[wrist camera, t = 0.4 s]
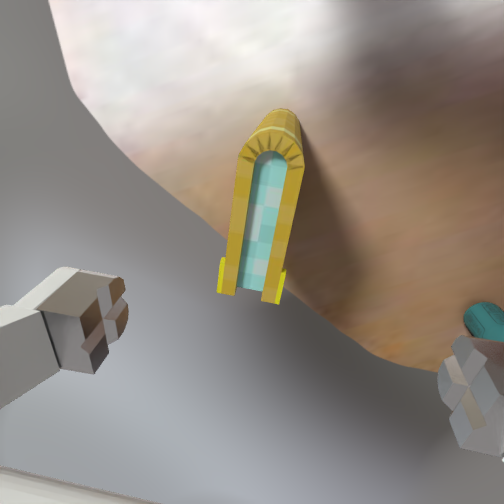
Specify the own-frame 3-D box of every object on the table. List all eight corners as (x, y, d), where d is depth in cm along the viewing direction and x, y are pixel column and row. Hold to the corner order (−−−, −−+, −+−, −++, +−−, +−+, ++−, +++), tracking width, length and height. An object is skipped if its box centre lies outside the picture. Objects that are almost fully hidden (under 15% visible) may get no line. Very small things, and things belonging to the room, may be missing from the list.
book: (284, 217, 57) (278, 304, 35) (246, 210, 57) (216, 292, 35) (306, 112, 49) (316, 140, 27) (262, 105, 49) (236, 126, 27)
